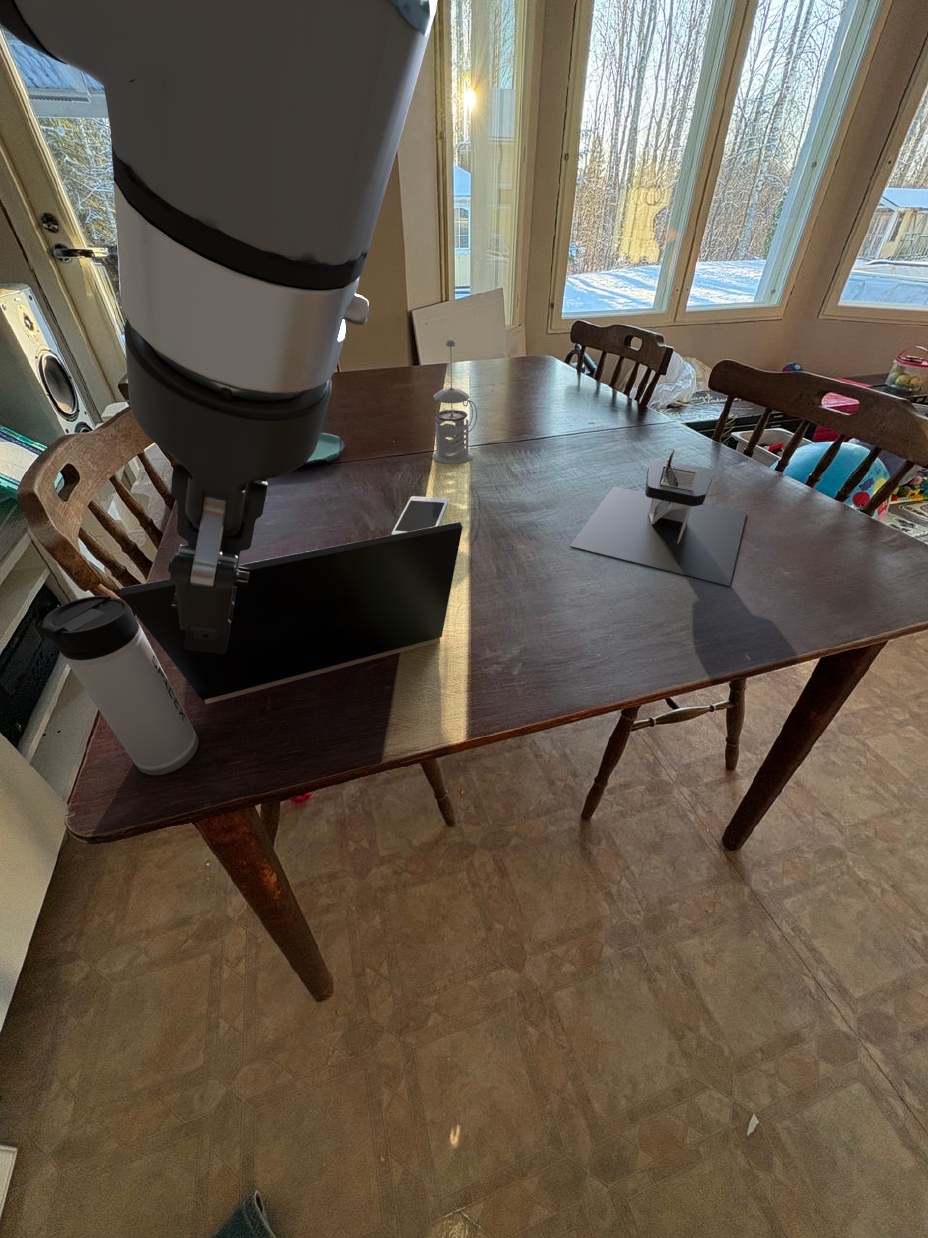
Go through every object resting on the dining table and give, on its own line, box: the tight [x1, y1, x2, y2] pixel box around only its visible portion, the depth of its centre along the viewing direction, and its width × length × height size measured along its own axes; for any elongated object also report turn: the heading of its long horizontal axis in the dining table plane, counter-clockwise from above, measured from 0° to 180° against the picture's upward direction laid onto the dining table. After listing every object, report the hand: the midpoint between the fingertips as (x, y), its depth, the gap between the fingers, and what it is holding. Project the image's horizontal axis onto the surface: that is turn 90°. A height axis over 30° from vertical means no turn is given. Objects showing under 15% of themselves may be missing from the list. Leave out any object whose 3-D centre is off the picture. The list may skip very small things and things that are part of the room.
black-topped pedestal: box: [569, 448, 747, 587], centre depth 90 cm, size 28×26×13 cm
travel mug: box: [39, 595, 200, 776], centre depth 50 cm, size 6×7×20 cm
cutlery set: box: [302, 432, 345, 466], centre depth 122 cm, size 20×30×2 cm, turn 100°
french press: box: [432, 339, 478, 465], centre depth 116 cm, size 10×12×25 cm
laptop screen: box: [120, 521, 464, 701], centre depth 55 cm, size 22×30×1 cm
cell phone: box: [390, 495, 449, 535], centre depth 98 cm, size 8×16×1 cm, turn 171°
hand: (207, 643), depth 37 cm, fingers closed
